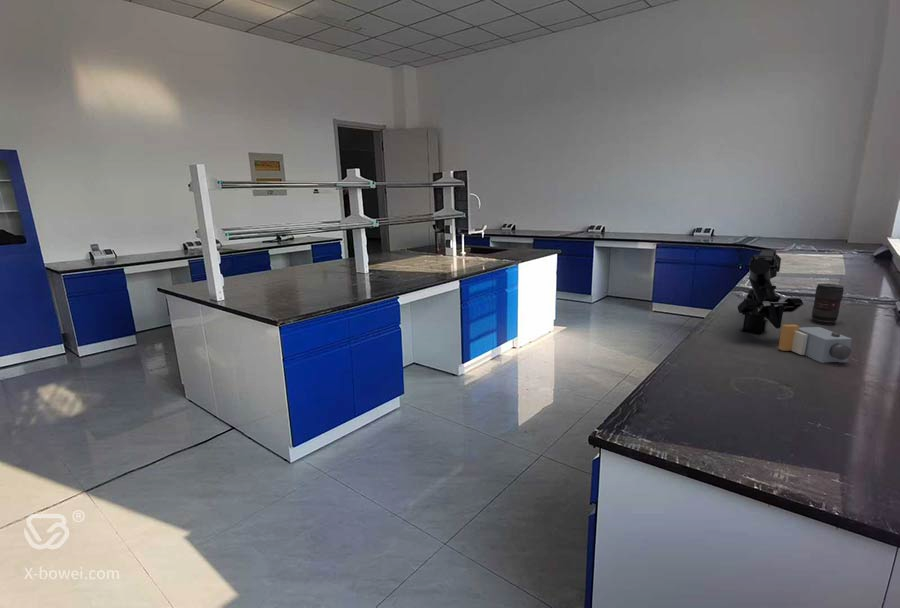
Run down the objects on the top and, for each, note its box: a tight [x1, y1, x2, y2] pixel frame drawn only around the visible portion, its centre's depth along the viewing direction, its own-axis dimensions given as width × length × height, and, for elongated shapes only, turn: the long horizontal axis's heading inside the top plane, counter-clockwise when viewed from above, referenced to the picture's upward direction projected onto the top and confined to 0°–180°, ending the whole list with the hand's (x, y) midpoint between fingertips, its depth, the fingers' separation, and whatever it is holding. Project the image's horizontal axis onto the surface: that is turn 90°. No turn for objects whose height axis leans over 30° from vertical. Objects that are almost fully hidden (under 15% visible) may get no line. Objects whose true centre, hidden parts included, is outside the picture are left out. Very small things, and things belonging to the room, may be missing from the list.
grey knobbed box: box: [798, 326, 853, 364], centre depth 141 cm, size 14×8×8 cm, turn 1°
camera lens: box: [811, 283, 845, 326], centre depth 174 cm, size 8×8×15 cm
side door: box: [778, 324, 808, 356], centre depth 145 cm, size 6×4×8 cm, turn 1°
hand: (778, 328), depth 150 cm, fingers closed
